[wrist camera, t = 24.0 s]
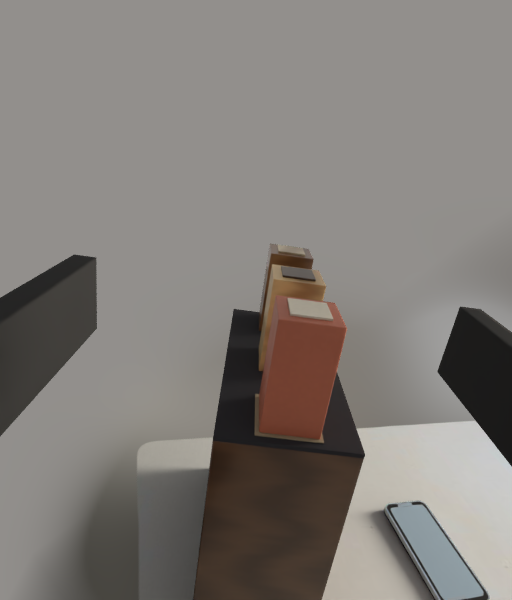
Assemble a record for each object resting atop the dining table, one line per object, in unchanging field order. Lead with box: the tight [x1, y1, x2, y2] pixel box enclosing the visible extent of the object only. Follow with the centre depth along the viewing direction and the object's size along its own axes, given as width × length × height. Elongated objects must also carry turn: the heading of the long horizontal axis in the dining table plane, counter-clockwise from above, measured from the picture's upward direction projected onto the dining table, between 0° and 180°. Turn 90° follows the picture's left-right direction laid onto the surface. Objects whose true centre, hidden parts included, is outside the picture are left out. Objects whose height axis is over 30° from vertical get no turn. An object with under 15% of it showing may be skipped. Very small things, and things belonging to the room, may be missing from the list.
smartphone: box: [384, 500, 490, 600], centre depth 56 cm, size 7×1×15 cm
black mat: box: [213, 309, 365, 458], centre depth 43 cm, size 12×26×1 cm, turn 179°
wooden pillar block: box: [259, 264, 326, 371], centre depth 41 cm, size 5×5×10 cm
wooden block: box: [259, 244, 313, 331], centre depth 50 cm, size 5×5×10 cm
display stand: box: [193, 441, 364, 600], centre depth 48 cm, size 12×26×28 cm, turn 0°
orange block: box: [259, 295, 347, 439], centre depth 32 cm, size 5×5×10 cm
